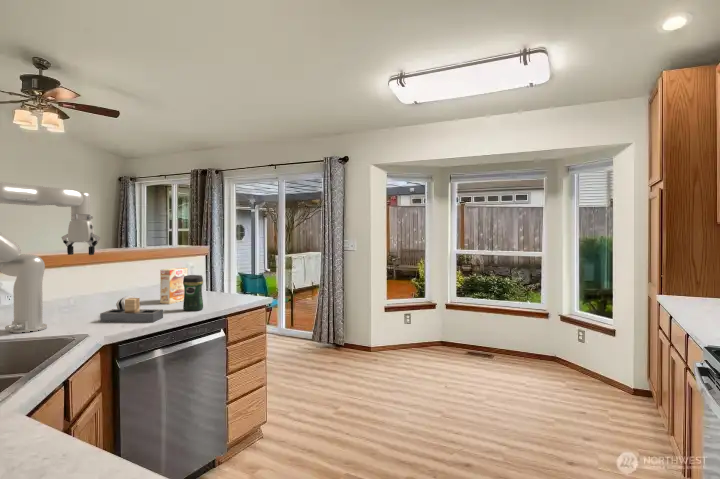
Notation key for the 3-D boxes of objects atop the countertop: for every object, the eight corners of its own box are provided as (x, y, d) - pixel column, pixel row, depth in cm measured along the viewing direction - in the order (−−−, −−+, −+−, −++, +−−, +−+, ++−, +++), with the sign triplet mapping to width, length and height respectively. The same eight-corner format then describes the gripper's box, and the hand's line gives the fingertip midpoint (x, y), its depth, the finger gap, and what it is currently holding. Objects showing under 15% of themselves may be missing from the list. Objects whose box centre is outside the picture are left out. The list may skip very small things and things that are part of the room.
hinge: (131, 316, 204) (123, 297, 203) (121, 320, 203) (113, 301, 202) (143, 310, 220) (136, 292, 219) (134, 313, 219) (127, 295, 219)
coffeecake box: (169, 304, 238) (169, 270, 237) (159, 303, 240) (159, 269, 240) (188, 300, 252) (188, 267, 252) (178, 299, 254) (178, 267, 254)
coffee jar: (205, 308, 226) (205, 274, 226) (199, 311, 218) (199, 275, 218) (187, 308, 227) (187, 274, 226) (180, 311, 219) (180, 275, 218)
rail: (153, 322, 192) (153, 313, 192) (100, 322, 192) (100, 313, 192) (163, 317, 202) (163, 309, 202) (112, 317, 202) (112, 309, 202)
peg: (134, 321, 195) (134, 299, 195) (124, 320, 195) (124, 299, 195) (139, 318, 199) (139, 298, 199) (130, 318, 199) (130, 297, 199)
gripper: (104, 218, 201) (104, 254, 202) (67, 218, 201) (67, 254, 201) (94, 218, 194) (94, 255, 194) (56, 218, 193) (56, 255, 194)
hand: (81, 254), depth 198 cm, fingers open, 9 cm apart
